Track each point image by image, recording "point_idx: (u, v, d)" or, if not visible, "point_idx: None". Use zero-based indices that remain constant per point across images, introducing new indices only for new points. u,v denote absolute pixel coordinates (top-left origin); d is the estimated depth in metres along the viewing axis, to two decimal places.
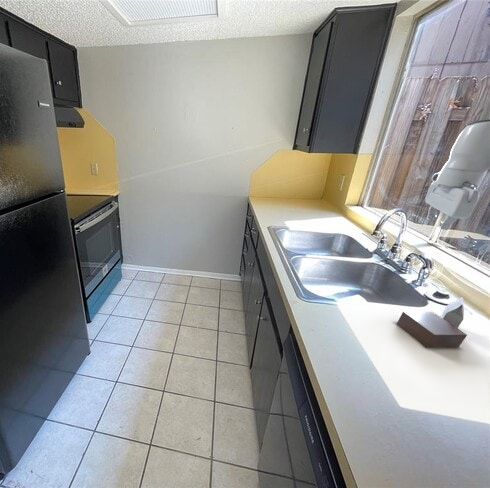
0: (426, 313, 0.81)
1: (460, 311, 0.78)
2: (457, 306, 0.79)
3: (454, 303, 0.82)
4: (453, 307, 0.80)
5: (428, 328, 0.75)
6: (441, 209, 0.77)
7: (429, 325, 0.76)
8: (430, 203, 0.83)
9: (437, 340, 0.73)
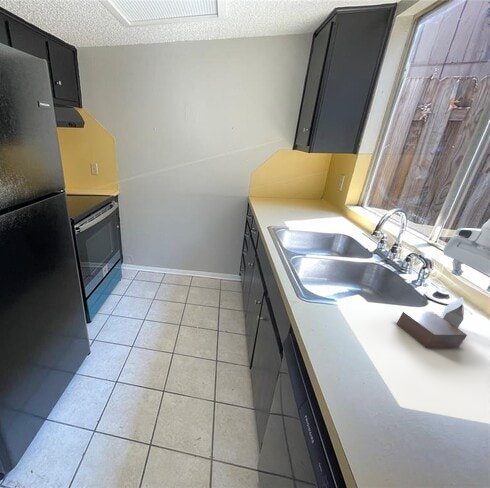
0: (426, 313, 0.81)
1: (460, 311, 0.78)
2: (457, 306, 0.79)
3: (454, 303, 0.82)
4: (453, 307, 0.80)
5: (428, 328, 0.75)
6: (489, 272, 0.71)
7: (429, 325, 0.76)
8: (458, 259, 0.79)
9: (437, 340, 0.73)
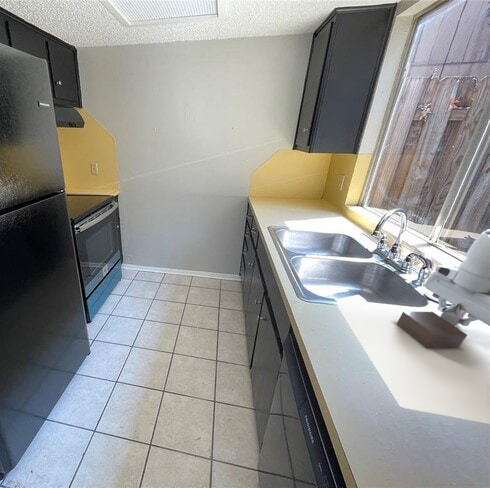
0: (426, 313, 0.81)
1: (457, 310, 0.78)
2: (455, 305, 0.79)
3: None
4: (452, 306, 0.80)
5: (428, 328, 0.75)
6: (465, 310, 0.77)
7: (429, 325, 0.76)
8: (438, 294, 0.84)
9: (437, 340, 0.73)
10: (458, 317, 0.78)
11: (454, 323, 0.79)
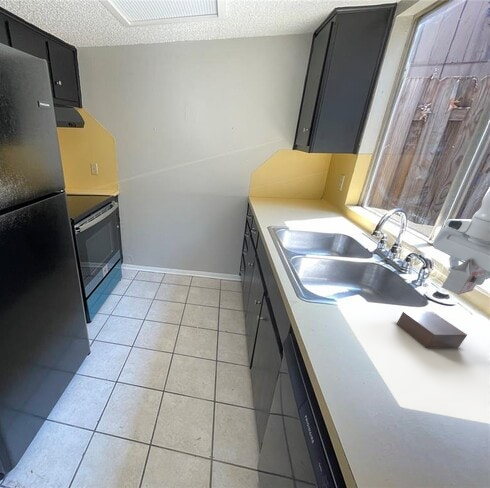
0: (426, 313, 0.81)
1: (467, 267, 0.68)
2: (466, 262, 0.69)
3: None
4: None
5: (428, 328, 0.75)
6: (481, 266, 0.66)
7: (429, 325, 0.76)
8: (448, 252, 0.74)
9: (437, 340, 0.73)
10: (468, 274, 0.68)
11: (463, 282, 0.69)
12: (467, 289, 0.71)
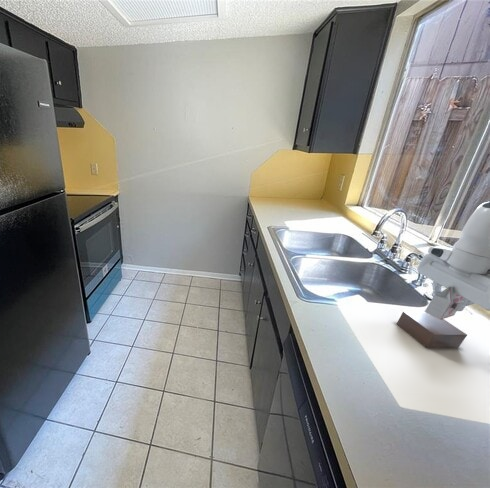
0: (426, 313, 0.81)
1: (448, 294, 0.71)
2: (447, 288, 0.72)
3: None
4: None
5: (428, 328, 0.75)
6: (461, 294, 0.69)
7: (429, 325, 0.76)
8: (431, 278, 0.76)
9: (437, 340, 0.73)
10: (449, 301, 0.71)
11: (444, 308, 0.72)
12: (449, 314, 0.74)
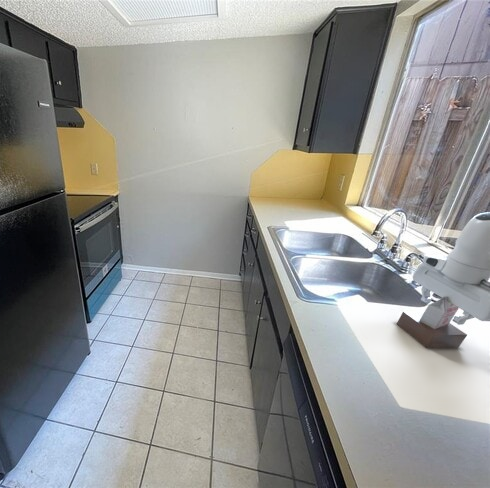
0: None
1: (442, 304, 0.72)
2: None
3: None
4: None
5: (428, 328, 0.75)
6: (455, 303, 0.70)
7: None
8: (426, 286, 0.78)
9: (437, 340, 0.73)
10: (443, 311, 0.72)
11: (439, 318, 0.73)
12: (443, 324, 0.75)
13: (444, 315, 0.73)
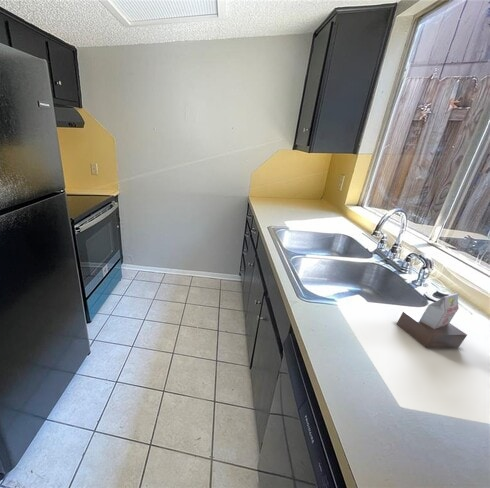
0: None
1: (442, 304, 0.72)
2: None
3: None
4: None
5: (428, 328, 0.75)
6: None
7: None
8: None
9: (437, 340, 0.73)
10: (443, 311, 0.72)
11: (439, 318, 0.73)
12: (443, 324, 0.75)
13: (444, 315, 0.73)
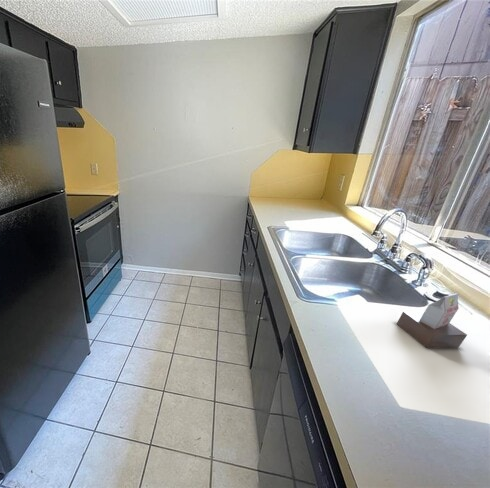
0: None
1: (442, 304, 0.72)
2: None
3: None
4: None
5: (428, 328, 0.75)
6: None
7: None
8: None
9: (437, 340, 0.73)
10: (443, 311, 0.72)
11: (439, 318, 0.73)
12: (443, 324, 0.75)
13: (444, 315, 0.73)
